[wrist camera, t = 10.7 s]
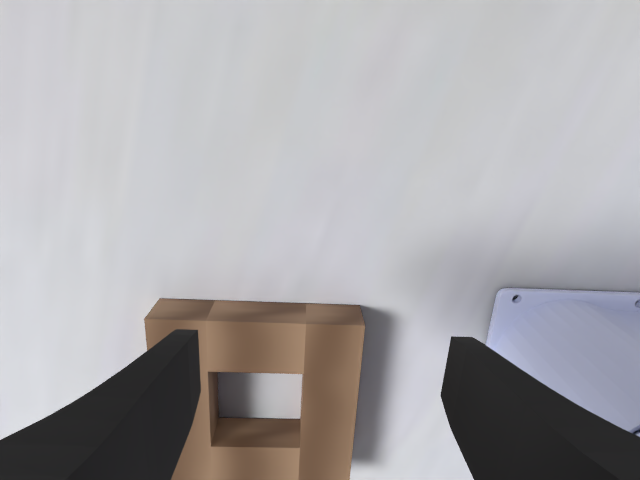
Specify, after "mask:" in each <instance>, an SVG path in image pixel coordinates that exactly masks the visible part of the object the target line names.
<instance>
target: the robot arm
mask: <svg viewBox="0 0 640 480" xmlns="http://www.w3.org/2000/svg"><path fill="white" fill-rule="evenodd" d="M515 295H518V297H517V298H516V299H515V300H512V298H513V297H514V296H515ZM637 300H639V301H638V302H637V303H636V304H635V302H636V301H637ZM200 393H201V380H200V359H199V339H198V330H188V329H176V330H174V331H173V332H171V333H170V334H169V335H167V336H166V337H165V338H163V339H162V340H161V341H159V342H158V343H157V344H156V345H154V346H153V347H152V348H150V349H149V350H148V351H147V352H145V353H144V354H143V355H141V356H140V357H139V358H137V359H136V360H135V361H133V362H132V363H131V364H129V365H128V366H127V367H125V368H124V369H122V370H121V371H120V372H118V373H117V374H115V375H114V376H112V377H111V378H109V379H108V380H106V381H105V382H103V383H102V384H101V385H99V386H98V387H96V388H95V389H93V390H92V391H90V392H89V393H87V394H85V395H84V396H82V397H81V398H79V399H77V400H76V401H74V402H72V403H71V404H69V405H67V406H65V407H64V408H62V409H60V410H58V411H56V412H55V413H53V414H51V415H49V416H48V417H46V418H44V419H42V420H40V421H38V422H36V423H34V424H32V425H30V426H28V427H26V428H24V429H22V430H20V431H18V432H16V433H14V434H12V435H10V436H8V437H6V438H4V439H2V440H0V480H171V478H172V475H173V473H174V470H175V468H176V465H177V463H178V460H179V458H180V455H181V453H182V450H183V448H184V445H185V443H186V440H187V437H188V435H189V432H190V430H191V427H192V424H193V420H194V417H195V413H196V409H197V405H198V401H199V397H200ZM441 398H442V402H443V405H444V409H445V412H446V415H447V418H448V421H449V424H450V427H451V430H452V432H453V435H454V437H455V439H456V441H457V443H458V446H459V448H460V450H461V452H462V454H463V457H464V459H465V461H466V463H467V465H468V467H469V470H470V472H471V474H472V476H473V478H474V480H640V293H637V292H609V291H582V290H554V289H526V288H503V289H501V290H499V292H498V293H497V295H496V299H495V303H494V308H493V313H492V317H491V322H490V327H489V332H488V336H487V341H486V345H485V344H483V343H481V342H480V341H478V340H476V339H475V338H473V337H451V341H450V347H449V352H448V358H447V363H446V369H445V374H444V380H443V385H442V391H441Z"/></svg>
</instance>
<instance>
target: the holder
mask: <svg viewBox="0 0 640 480" xmlns="http://www.w3.org/2000/svg"><path fill="white" fill-rule="evenodd" d="M144 321H145V331H146V342H147V351H148V350H149V349H150V348H152V347H153V346H154V345H156V344H157V343H158V342H159V341H161V340H162V339H163V338H165V337H166V336H167V335H169V334H170V333H171V332H173V331H174V330H176V329H188V330H198V339H199V359H200V380H201V393H200V397H199V401H198V405H197V409H196V413H195V417H194V420H193V424H192V427H191V430H190V432H189V435H188V437H187V440H186V443H185V445H184V448H183V450H182V453H181V455H180V458H179V460H178V463H177V465H176V468H175V470H174V473H173V475H172V478H171V480H349V479H350V469H351V459H352V450H353V440H354V430H355V420H356V410H357V401H358V391H359V381H360V371H361V361H362V352H363V342H364V332H365V323H364V320H363V316H362V312H361V308H360V305H338V304H308V303H278V302H248V301H218V300H188V299H159V300H158V301H157V303H156V304H155V305H154V307H153V308H152V309H151V311H150V312H149V313H148V315H147V316H146V317H145V319H144ZM217 372H245V373H286V374H303V378H302V398H301V419H257V418H219V406H218V375H217Z"/></svg>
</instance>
